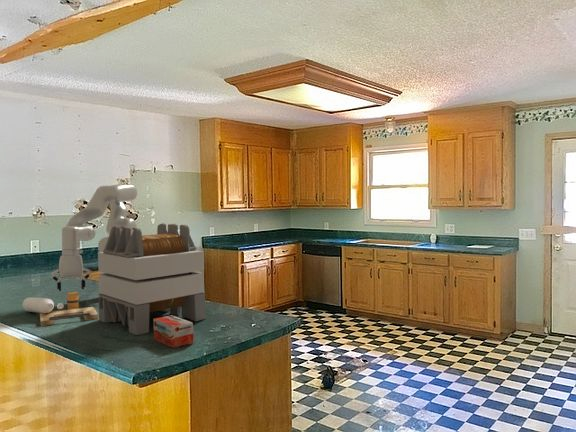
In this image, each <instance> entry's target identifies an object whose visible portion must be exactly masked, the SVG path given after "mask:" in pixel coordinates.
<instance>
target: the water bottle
mask: <svg viewBox="0 0 576 432" xmlns="http://www.w3.org/2000/svg"><path fill="white" fill-rule="evenodd" d="M21 306H22V309H23V310H24V311H26V312H32V313H39V314H40V313H49V312H53V311H54V310H53V309H54V307H55V303H54V301H53V300H52V299H51V298H47V297H46V298H45V297H34V296H32V297H31V296H28V297H26V298H25V299H24V300H23V302H22V305H21ZM56 307H57V309H58V310H62V309H64V307H65V306H64V304H63V303H61V302H60V303H58V304H57V305H56Z"/></svg>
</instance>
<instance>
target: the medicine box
mask: <svg viewBox="0 0 576 432" xmlns="http://www.w3.org/2000/svg"><path fill="white" fill-rule="evenodd" d="M193 323H194V322H192V321H191V320H187V319H184V318H182V317H178V316H176V315H173V314H171V315H167V316H162V317H161V316H160V317H155V318H153V340H154V341H156V342H158V343H160V342H161V343H160V344H162V343H163V344H162V345H165V344H166V345H165V346H167V345H168V346H167V347H169V346H170V347H169V348H171V347H173V348H174V349H176V348H175V347H178V348H180V347H179V346H181V347H183V346H187V345H186V344H190V343H193V344H194V324H193ZM182 345H183V346H182ZM190 345H191V344H190ZM173 348H172V349H173Z"/></svg>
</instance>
